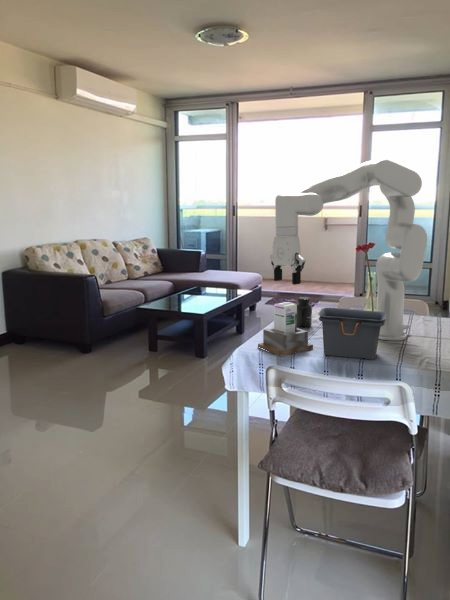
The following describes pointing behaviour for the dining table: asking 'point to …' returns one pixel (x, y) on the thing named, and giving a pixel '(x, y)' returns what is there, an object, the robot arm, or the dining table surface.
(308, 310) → the supplement bottle
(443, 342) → the dining table surface
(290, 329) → the syrup box
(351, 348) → the storage bin
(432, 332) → the dining table surface
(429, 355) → the dining table surface
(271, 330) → the post base
